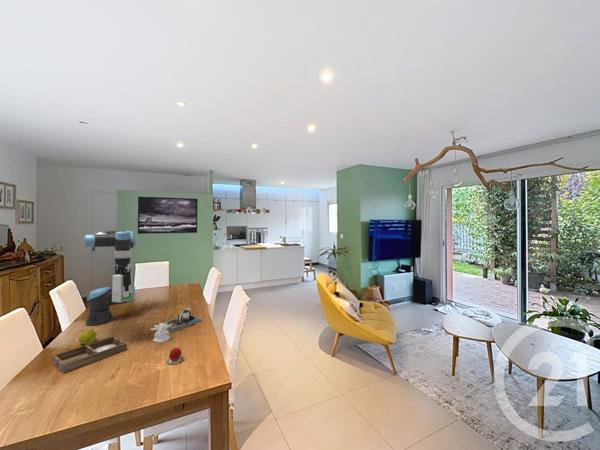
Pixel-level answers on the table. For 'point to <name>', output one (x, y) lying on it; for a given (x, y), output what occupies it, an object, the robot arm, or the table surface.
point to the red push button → (175, 356)
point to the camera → (184, 316)
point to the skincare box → (120, 289)
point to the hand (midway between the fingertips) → (122, 295)
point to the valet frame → (172, 329)
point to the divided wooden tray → (87, 354)
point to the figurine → (161, 332)
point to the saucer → (104, 347)
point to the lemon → (87, 337)
